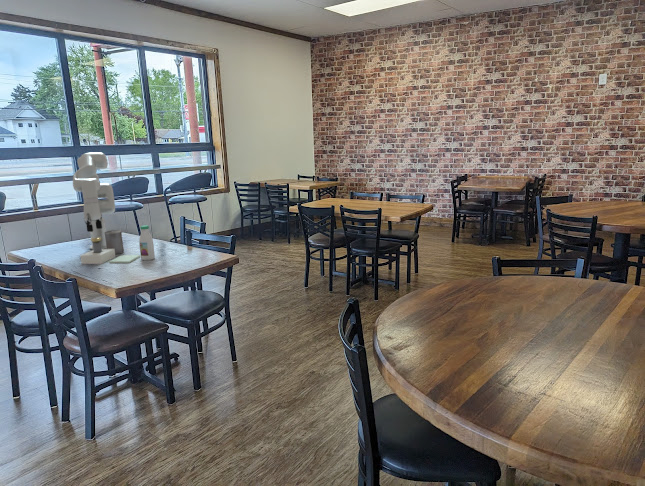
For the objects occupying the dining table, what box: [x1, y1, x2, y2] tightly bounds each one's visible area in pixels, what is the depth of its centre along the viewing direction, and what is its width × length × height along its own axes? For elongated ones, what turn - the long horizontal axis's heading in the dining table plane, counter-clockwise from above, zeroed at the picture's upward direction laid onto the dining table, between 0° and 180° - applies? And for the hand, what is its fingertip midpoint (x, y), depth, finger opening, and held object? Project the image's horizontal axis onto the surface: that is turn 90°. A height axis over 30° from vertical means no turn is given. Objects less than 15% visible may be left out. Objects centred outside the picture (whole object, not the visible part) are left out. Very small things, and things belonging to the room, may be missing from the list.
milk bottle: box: [138, 224, 156, 261], centre depth 268 cm, size 8×8×20 cm
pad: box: [108, 254, 141, 264], centre depth 269 cm, size 14×12×1 cm
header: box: [80, 248, 117, 265], centre depth 269 cm, size 16×12×5 cm
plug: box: [90, 237, 102, 253], centre depth 268 cm, size 6×6×13 cm
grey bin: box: [105, 229, 125, 255], centre depth 286 cm, size 10×10×15 cm
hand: (94, 230), depth 265 cm, fingers open, 9 cm apart
